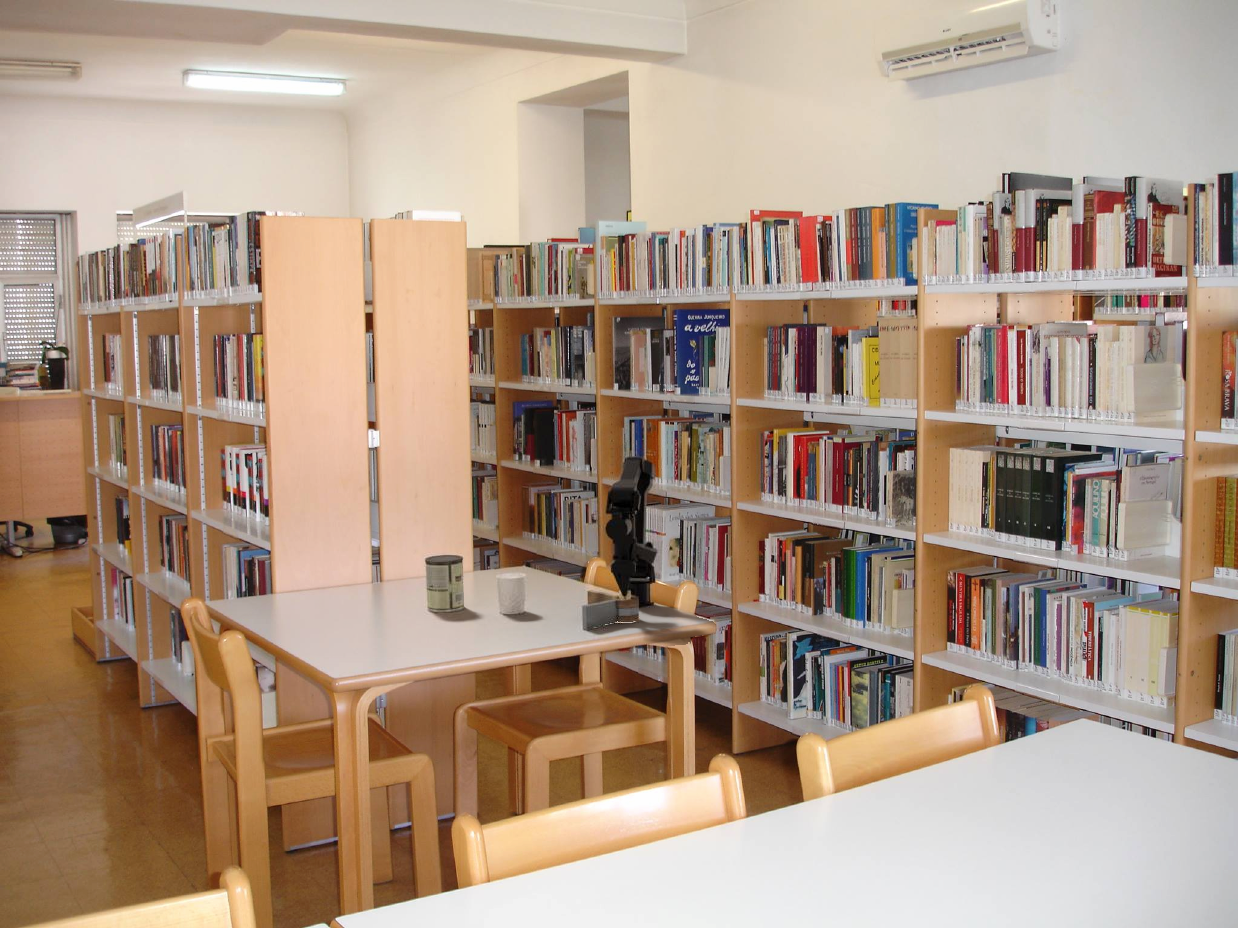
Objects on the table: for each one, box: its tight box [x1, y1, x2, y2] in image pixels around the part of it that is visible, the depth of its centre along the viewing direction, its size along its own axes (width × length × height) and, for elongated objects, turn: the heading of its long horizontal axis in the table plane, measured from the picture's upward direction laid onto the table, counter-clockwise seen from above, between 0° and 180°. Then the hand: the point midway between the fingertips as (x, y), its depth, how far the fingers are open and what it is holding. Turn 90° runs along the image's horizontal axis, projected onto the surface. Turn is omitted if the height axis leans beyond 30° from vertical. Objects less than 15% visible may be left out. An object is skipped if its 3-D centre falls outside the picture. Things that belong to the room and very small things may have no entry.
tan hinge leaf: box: [586, 589, 640, 622], centre depth 310 cm, size 18×7×6 cm, turn 42°
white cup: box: [496, 572, 527, 615], centre depth 319 cm, size 8×8×10 cm
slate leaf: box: [581, 600, 640, 630], centre depth 303 cm, size 18×7×6 cm, turn 132°
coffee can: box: [424, 554, 465, 613], centre depth 325 cm, size 10×10×14 cm
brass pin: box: [618, 590, 631, 600], centre depth 306 cm, size 3×3×8 cm
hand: (625, 593), depth 306 cm, fingers open, 5 cm apart
